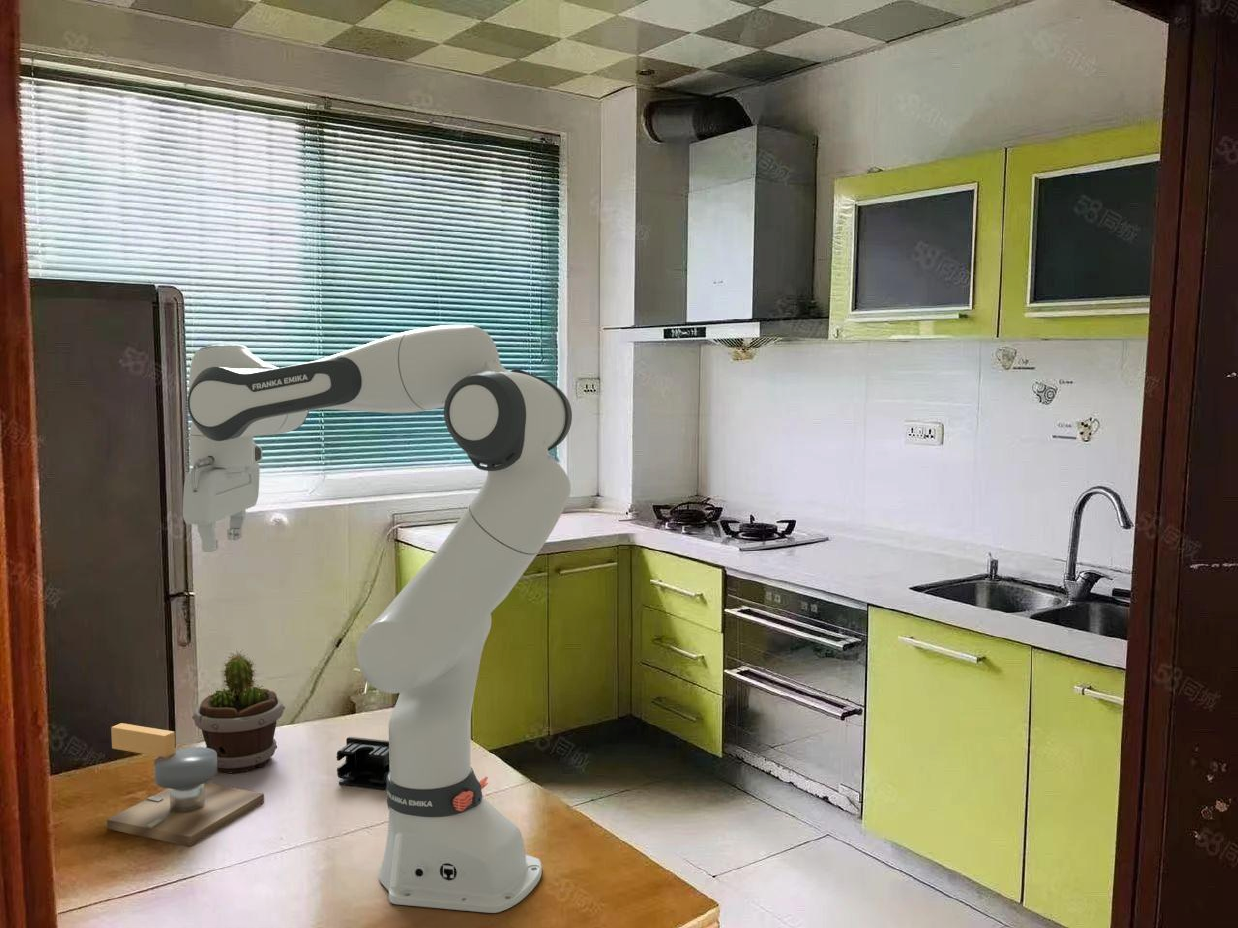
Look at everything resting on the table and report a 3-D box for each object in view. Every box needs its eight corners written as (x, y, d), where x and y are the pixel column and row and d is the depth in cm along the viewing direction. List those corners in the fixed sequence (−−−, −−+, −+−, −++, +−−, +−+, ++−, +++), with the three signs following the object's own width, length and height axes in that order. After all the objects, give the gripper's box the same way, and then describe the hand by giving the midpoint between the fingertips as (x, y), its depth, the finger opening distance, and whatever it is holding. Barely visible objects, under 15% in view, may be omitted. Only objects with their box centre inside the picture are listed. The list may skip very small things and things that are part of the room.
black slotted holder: (408, 774, 173) (407, 736, 172) (388, 791, 166) (388, 752, 166) (356, 768, 175) (355, 731, 175) (334, 785, 169) (334, 746, 168)
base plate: (264, 802, 161) (263, 792, 161) (190, 846, 147) (189, 835, 146) (186, 787, 167) (185, 778, 167) (107, 828, 152) (106, 818, 152)
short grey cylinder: (212, 801, 158) (210, 774, 158) (188, 815, 153) (187, 786, 153) (187, 797, 160) (186, 770, 159) (162, 810, 155) (161, 782, 155)
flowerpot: (282, 774, 173) (278, 661, 171) (187, 782, 169) (182, 667, 167) (289, 744, 187) (286, 639, 185) (202, 751, 183) (198, 644, 181)
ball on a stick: (230, 769, 159) (228, 730, 158) (187, 791, 150) (186, 750, 150) (140, 754, 165) (138, 715, 165) (94, 774, 157) (92, 734, 156)
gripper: (215, 461, 138) (216, 559, 140) (266, 448, 159) (267, 534, 160) (169, 459, 138) (171, 558, 140) (226, 447, 159) (227, 533, 160)
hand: (223, 545), depth 150 cm, fingers open, 8 cm apart
